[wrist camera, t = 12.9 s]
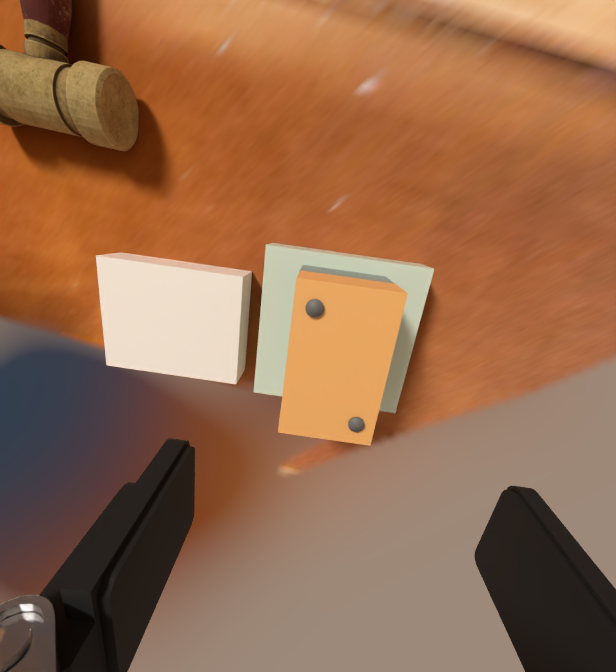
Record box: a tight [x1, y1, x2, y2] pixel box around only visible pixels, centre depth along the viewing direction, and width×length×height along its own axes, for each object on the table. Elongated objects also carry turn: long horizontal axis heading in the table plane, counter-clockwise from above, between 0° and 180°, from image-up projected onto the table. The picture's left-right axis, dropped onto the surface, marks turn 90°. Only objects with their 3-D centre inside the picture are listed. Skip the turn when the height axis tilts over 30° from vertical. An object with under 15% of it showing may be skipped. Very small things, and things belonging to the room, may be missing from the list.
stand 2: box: [254, 243, 434, 413], centre depth 25 cm, size 12×12×3 cm
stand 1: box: [96, 253, 252, 384], centre depth 26 cm, size 11×9×3 cm
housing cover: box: [278, 270, 408, 446], centre depth 19 cm, size 10×6×3 cm, turn 172°
